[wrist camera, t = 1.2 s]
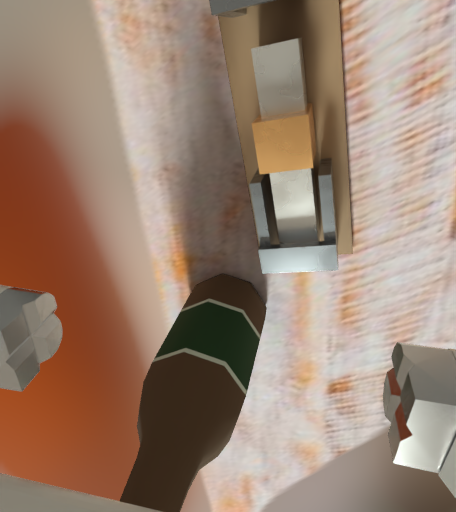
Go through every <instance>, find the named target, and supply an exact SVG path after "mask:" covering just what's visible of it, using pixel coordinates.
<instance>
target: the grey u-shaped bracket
mask: <svg viewBox="0 0 456 512" xmlns="http://www.w3.org/2000/svg"><path fill="white" fill-rule="evenodd" d="M318 179H319V190H320V201H321V212H322V223H323V234H324V241H318V242H303V243H288V244H280V242H279V235H278V228H277V221H276V215H275V208H274V201H273V194H272V187H271V181H270V174H269V173H267V174H260V173H259V167H258V169H257V171H256V173H255V174H254V176H253V178H252V180H251V181H250V183H249V187H250V192H251V198H252V204H253V210H254V215H255V221H256V227H257V233H258V238H259V244H260V246H259V249H258V252H259V258H260V263H261V269H262V274H267V273H289V272H311V271H333V270H338V238H337V225H336V211H335V198H334V184H333V171H332V158H325V159H320V165H319V174H318Z"/></svg>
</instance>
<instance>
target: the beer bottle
mask: <svg viewBox="0 0 456 512" xmlns="http://www.w3.org/2000/svg"><path fill="white" fill-rule="evenodd" d="M265 315H266V306H265V304H264V303H263V301H262V300H261V298H260V296H259V295H258V293H257V292H256V290H255V289H254V287H253V286H252V284H251V283H249V282H246V281H243V280H240V279H237V278H234V277H231V276H228V275H225V274H221V275H219V276H216V277H214V278H211V279H209V280H207V281H204V282H202V283H200V284H197V285H196V287H195V288H194V290H193V291H192V292H191V294H190V296H189V297H188V299H187V301H186V303H185V305H184V306H183V308H182V310H181V312H180V314H179V315H178V317H177V319H176V321H175V323H174V324H173V326H172V328H171V330H170V332H169V333H168V335H167V337H166V339H165V341H164V343H163V344H162V346H161V348H160V350H159V351H158V353H157V355H156V357H155V358H154V360H153V362H152V364H151V367H150V369H149V371H148V373H147V376H146V378H145V380H144V383H143V389H142V395H141V401H140V408H139V415H138V423H137V429H138V434H139V440H140V448H139V452H138V456H137V459H136V461H135V464H134V466H133V469H132V471H131V474H130V476H129V479H128V481H127V484H126V486H125V489H124V491H123V494H122V496H121V499H120V502H124V503H128V504H133V505H137V506H141V507H145V508H149V509H154V510H158V511H162V512H180V510H181V508H182V505H183V503H184V500H185V497H186V495H187V492H188V490H189V488H190V486H191V484H192V482H193V480H194V479H195V476H196V475H197V473H198V471H199V469H201V468H202V467H204V466H205V465H206V464H208V463H209V462H211V461H212V460H213V459H215V458H216V457H218V455H219V454H220V453H221V451H222V450H223V449H224V447H225V446H226V445H227V443H228V442H229V440H230V438H231V435H232V433H233V430H234V427H235V425H236V422H237V420H238V417H239V414H240V411H241V408H242V406H243V403H244V400H245V397H246V393H247V389H248V385H249V381H250V377H251V373H252V369H253V365H254V361H255V357H256V353H257V349H258V345H259V341H260V337H261V333H262V329H263V325H264V321H265Z"/></svg>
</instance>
